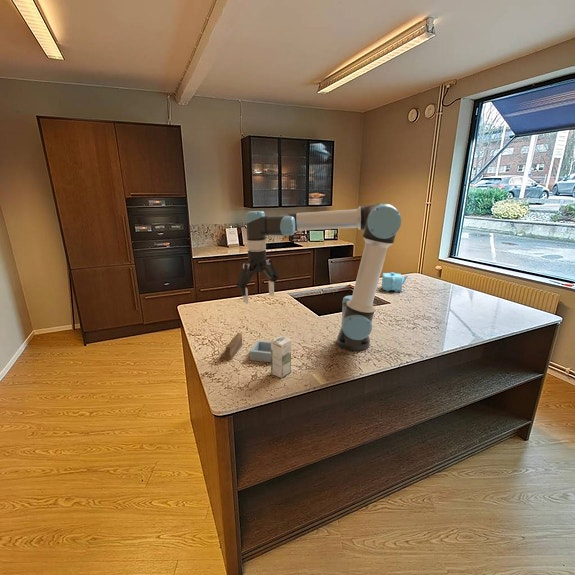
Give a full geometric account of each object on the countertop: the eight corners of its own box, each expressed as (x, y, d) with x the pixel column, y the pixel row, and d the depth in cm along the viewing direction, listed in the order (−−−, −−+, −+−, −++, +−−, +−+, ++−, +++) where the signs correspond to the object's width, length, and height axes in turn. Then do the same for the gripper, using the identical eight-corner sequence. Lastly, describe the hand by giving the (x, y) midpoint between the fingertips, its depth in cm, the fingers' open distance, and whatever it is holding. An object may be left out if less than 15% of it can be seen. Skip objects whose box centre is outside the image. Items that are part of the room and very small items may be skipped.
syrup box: (280, 367, 130) (279, 335, 126) (291, 372, 127) (291, 339, 123) (270, 373, 126) (270, 340, 122) (282, 379, 123) (281, 344, 118)
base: (242, 345, 149) (241, 333, 147) (230, 360, 136) (230, 347, 134) (232, 344, 150) (231, 332, 148) (219, 358, 137) (219, 346, 135)
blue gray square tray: (279, 350, 144) (279, 342, 142) (273, 362, 134) (273, 353, 133) (257, 348, 146) (257, 340, 145) (250, 359, 136) (249, 351, 135)
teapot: (383, 293, 223) (385, 275, 219) (381, 286, 238) (382, 269, 234) (410, 294, 220) (412, 276, 216) (406, 287, 235) (408, 270, 231)
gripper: (275, 245, 142) (276, 290, 148) (225, 252, 126) (229, 303, 133) (285, 247, 136) (286, 294, 142) (235, 255, 121) (239, 308, 127)
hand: (259, 299), depth 137 cm, fingers open, 13 cm apart
